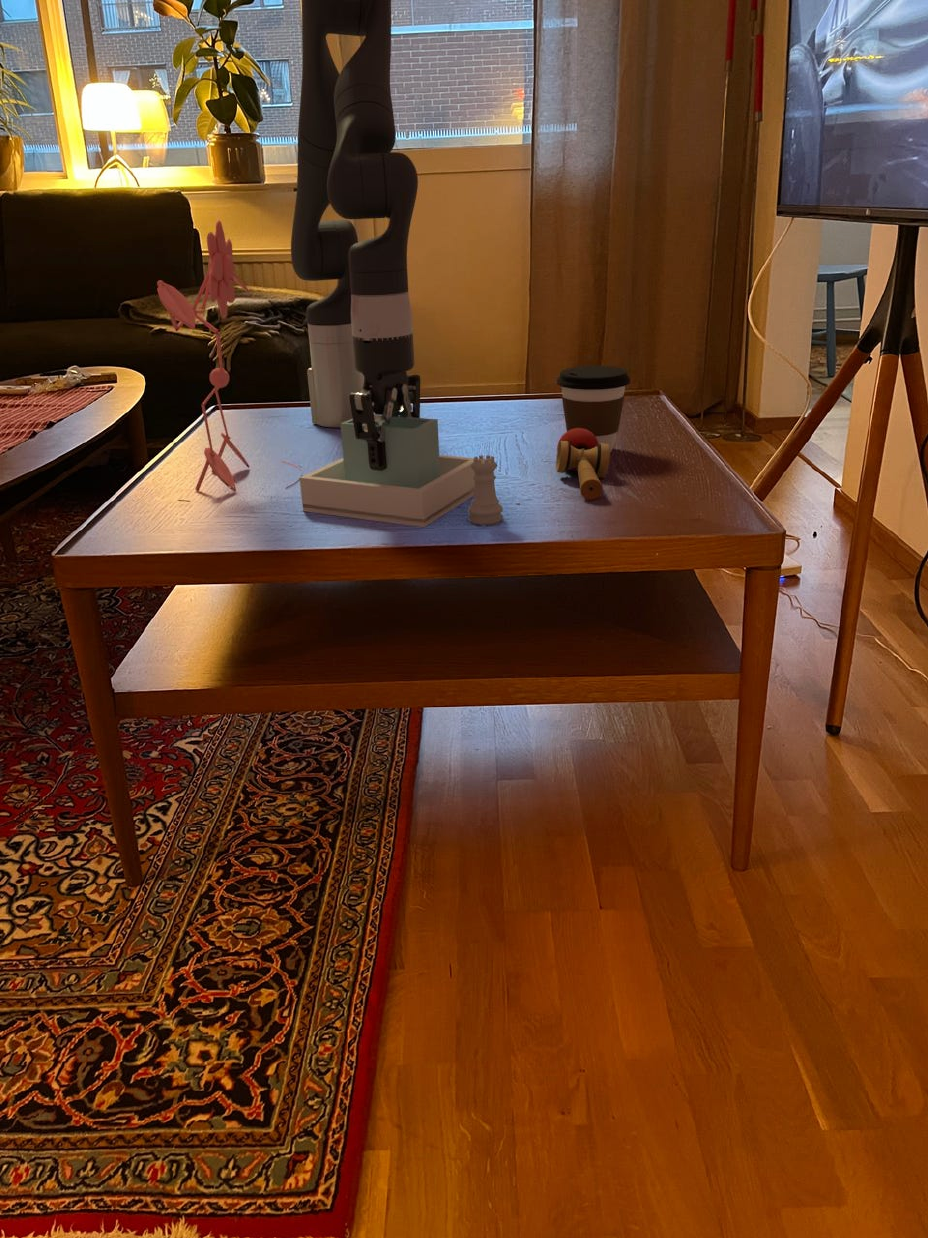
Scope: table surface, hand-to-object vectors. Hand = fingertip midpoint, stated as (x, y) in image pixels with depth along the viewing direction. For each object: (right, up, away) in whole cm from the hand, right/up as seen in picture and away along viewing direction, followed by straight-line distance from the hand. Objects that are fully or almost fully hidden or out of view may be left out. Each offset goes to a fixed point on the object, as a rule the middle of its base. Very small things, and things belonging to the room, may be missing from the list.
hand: (391, 462), depth 128 cm
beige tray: (0, -5, +2) cm, 5 cm away
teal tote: (0, -2, +1) cm, 3 cm away
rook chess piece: (+12, -8, -6) cm, 16 cm away
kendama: (+26, -2, +8) cm, 27 cm away
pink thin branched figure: (-21, -1, +14) cm, 25 cm away
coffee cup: (+29, +5, +22) cm, 37 cm away
